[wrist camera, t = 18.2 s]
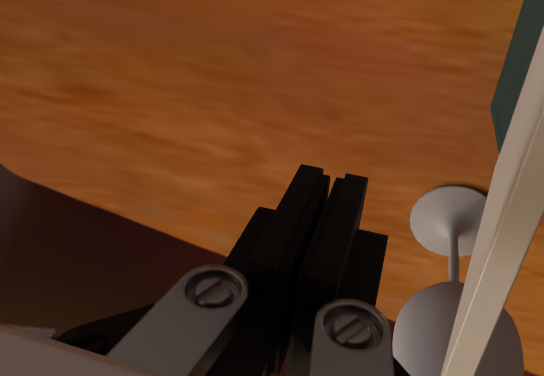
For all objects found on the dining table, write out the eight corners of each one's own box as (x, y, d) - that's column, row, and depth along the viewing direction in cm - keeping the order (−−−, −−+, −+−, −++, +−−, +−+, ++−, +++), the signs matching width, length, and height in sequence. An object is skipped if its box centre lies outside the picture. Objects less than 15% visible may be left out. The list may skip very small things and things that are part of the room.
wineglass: (521, 227, 42) (572, 466, 25) (447, 270, 46) (446, 500, 29) (459, 166, 41) (467, 371, 24) (389, 216, 45) (352, 421, 28)
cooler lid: (667, -77, 9) (613, -82, 9) (459, 412, 16) (433, 401, 16) (605, -95, 22) (585, -97, 22) (508, 173, 29) (494, 169, 29)
